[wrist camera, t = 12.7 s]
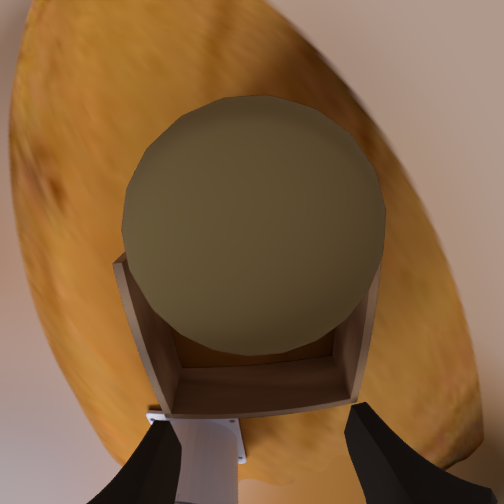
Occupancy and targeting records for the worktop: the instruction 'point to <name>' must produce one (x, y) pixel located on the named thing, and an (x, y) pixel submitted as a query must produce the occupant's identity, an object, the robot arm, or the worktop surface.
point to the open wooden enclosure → (247, 366)
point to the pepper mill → (254, 225)
